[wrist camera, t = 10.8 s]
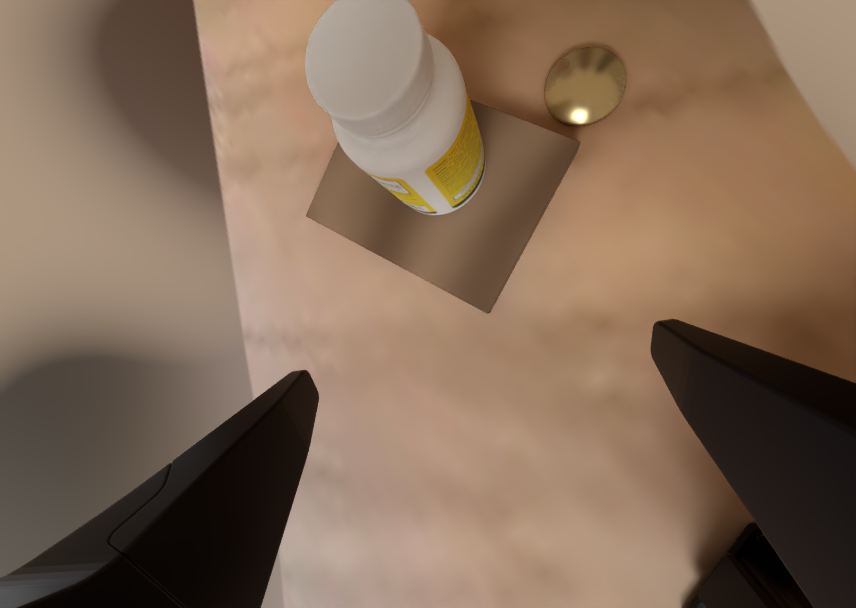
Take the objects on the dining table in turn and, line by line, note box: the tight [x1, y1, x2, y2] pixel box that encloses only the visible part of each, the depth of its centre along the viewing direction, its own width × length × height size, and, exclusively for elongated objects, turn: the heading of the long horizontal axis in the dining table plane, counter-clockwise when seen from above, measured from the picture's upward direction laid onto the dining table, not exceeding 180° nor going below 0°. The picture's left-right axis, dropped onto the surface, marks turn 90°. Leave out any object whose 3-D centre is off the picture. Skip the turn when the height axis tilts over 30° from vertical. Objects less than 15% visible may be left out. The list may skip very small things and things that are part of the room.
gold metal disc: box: [545, 47, 626, 126], centre depth 19 cm, size 4×4×1 cm
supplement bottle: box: [305, 0, 486, 215], centre depth 15 cm, size 5×5×10 cm
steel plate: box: [306, 100, 580, 314], centre depth 21 cm, size 13×10×1 cm
